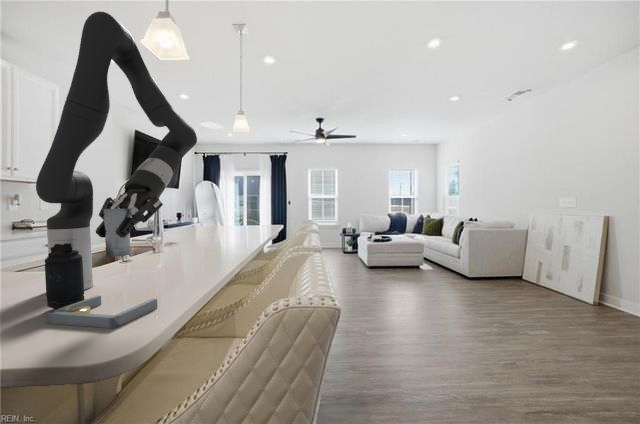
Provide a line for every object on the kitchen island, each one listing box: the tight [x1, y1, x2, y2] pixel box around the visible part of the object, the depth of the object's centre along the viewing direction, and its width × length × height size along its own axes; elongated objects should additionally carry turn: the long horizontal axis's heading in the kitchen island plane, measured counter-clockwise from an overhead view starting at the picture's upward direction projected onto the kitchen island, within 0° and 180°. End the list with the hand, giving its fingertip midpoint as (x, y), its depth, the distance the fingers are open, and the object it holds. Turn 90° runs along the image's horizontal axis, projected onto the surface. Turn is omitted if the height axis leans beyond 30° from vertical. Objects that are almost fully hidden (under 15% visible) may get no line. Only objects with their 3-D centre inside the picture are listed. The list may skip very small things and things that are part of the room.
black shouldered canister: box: [44, 243, 85, 310], centre depth 68 cm, size 7×7×15 cm
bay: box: [44, 295, 158, 329], centre depth 64 cm, size 16×11×2 cm
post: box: [104, 208, 132, 258], centre depth 65 cm, size 4×4×10 cm
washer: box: [67, 306, 92, 314], centre depth 63 cm, size 4×4×2 cm
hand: (109, 234), depth 63 cm, fingers closed on post, 4 cm apart
